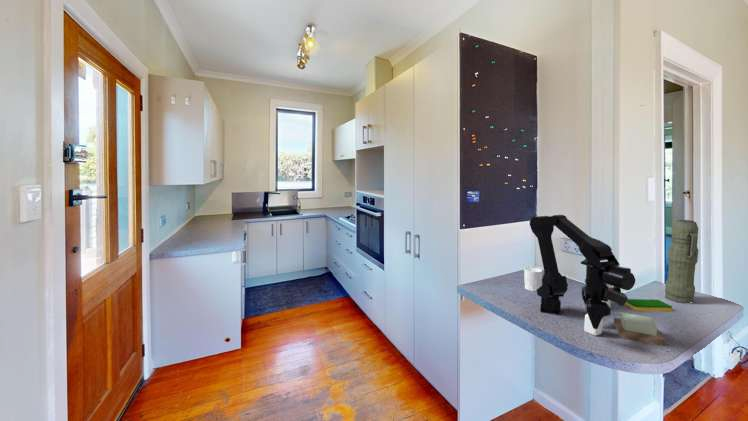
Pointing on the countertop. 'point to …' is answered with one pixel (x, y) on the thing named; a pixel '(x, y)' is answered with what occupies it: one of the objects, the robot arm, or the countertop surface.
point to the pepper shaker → (589, 327)
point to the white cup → (532, 278)
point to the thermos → (682, 262)
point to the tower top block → (638, 324)
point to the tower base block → (638, 334)
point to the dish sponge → (648, 305)
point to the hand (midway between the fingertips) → (593, 322)
